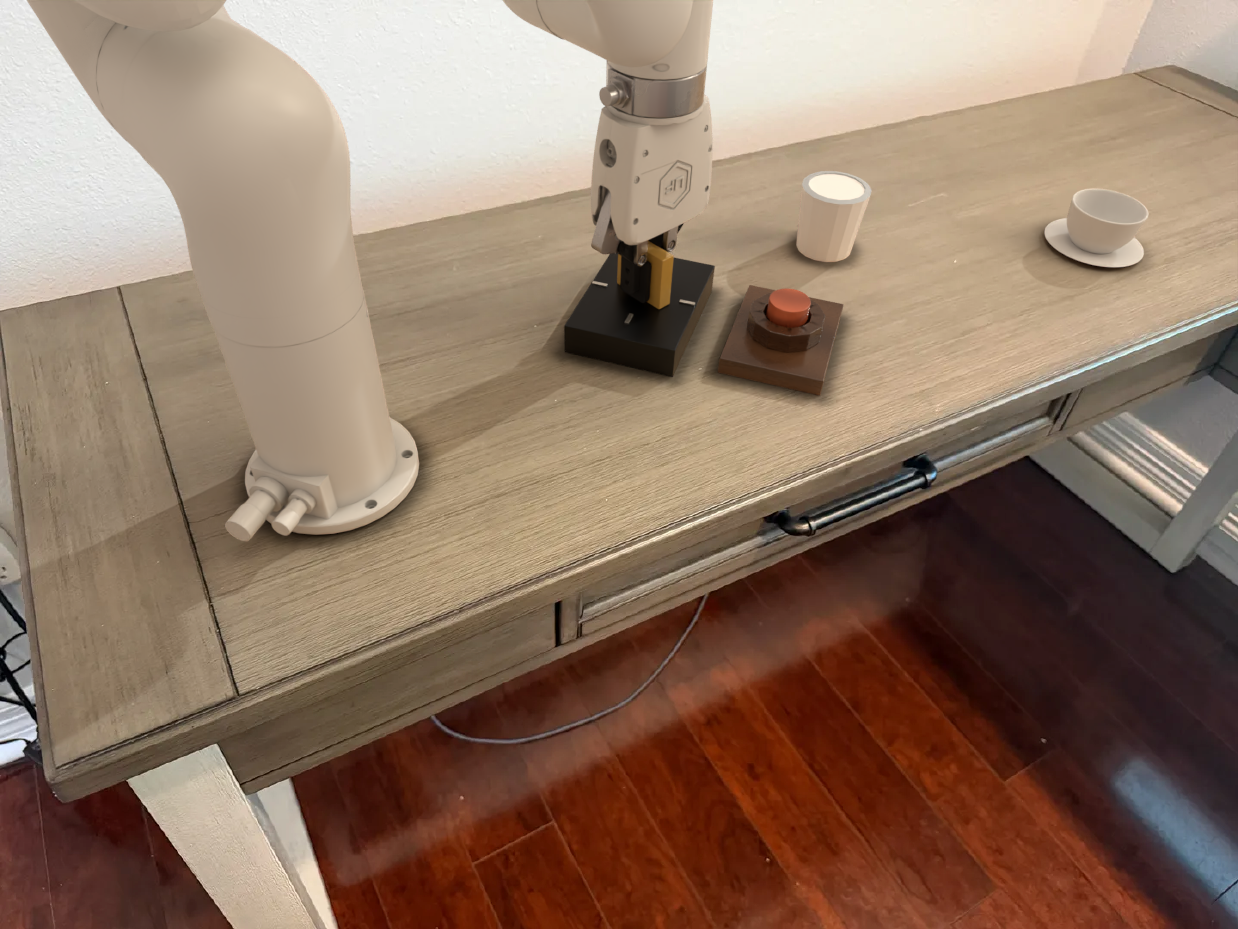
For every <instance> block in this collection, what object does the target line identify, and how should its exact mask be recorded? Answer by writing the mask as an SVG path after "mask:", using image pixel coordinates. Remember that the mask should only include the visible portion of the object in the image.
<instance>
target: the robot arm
mask: <svg viewBox="0 0 1238 929" xmlns="http://www.w3.org/2000/svg"><path fill="white" fill-rule="evenodd" d="M502 1H503V3H504V5H505V6H506V7H507V8H509V10H510V11H511V12H512V13H513V14H514V15H516V16H517V17H518V18H520V19H521V20H523V21H524V22H526V23H528V24H529V25H531V26H533V27H535V28H538V29H539V30H542V31H543V32H546V33H548V34H550V35H552V36H554V37H556V38H558V39H559V40H563V41H566V42H568V43H570V44H573V45H574V46H577V47H578V48H581V49H583V50H585V51H587V52H589V53H591V54H594V55H596V56H597V57H600V58H602V59H604V60H605V61H606V63H605V64H606V67H605V68H606V70H605V86H604V87H603V86H602V87H601V88H600V89H599V91H598V92H599V94H598V97H599V100H600V103H601V104H602V105H603V107H602V108H601V111H600V113H599V114H600V115H599V120H598V124H597V130H596V135H595V141H594V150H593V156H592V158H593V159H592V169H591V181H590V182H591V183H590V212H591V213H590V214H591V220H592V223H593V225H594V226H595V229H594V232H593V236H592V239H591V243H590V246H591V248H592V249H593V250H595V251H597V252H598V253H599V254H601V255H609V254H616V253H617V254H619V255H621V278H620V287H621V289H622V291H624V292H625V293H627V294H629V295H630V296H632V297H633V298H635V299H636V300H638V301H640V302H641V303H645V302H647V301H648V300H649V298H650V283H651V267H652V266H651V263H650V262H648V261H647V247H648V241H649V242H651V243H653V244H655V245H656V246H658V247H660V248H662V249H663V250H665V251H667V252H669V253H671V252H673V251H674V249H675V248H676V246H677V240H678V234H679V232H680V231H681V229H682V228H683V226H684V224H685V223H687V222H689V221H691V220H693V219H694V218H695V219H696V218H697V217H699V216H700V215H701V214H702V213H703V212H704V211H705V210H706V209H708V208H707V207H708V206H709V202H710V194H711V186H712V173H713V172H712V170H713V147H714V146H713V143H714V142H713V141H714V140H713V138H714V137H713V121H712V110H711V103H710V98H709V97H708V96H707V95H706V94H705V91H706V90H705V89H706V80H707V71H708V70H707V69H708V59H709V51H710V50H709V49H710V40H711V28H712V17H713V6H714V0H502ZM26 2H27V3H28V5H29V6H30V8H31V10H32V11H33V12H34V14H35V16H36V17H37V19H38V20H39V22H40V24H41V26H43V28H44V30H45V31H46V33H47V34H48V36H49V37H50V39H51V41H52V42H53V44H54V45H55V46H56V48H57V50H58V52H59V53H60V55H61V56H62V57H63V59H64V61H65V62H66V64H67V65H68V67H69V68H70V70H71V71H72V73H73V74H74V76H75V77H76V79H77V81H78V82H79V83H80V85H81V87H82V88H83V89H84V91H85V92H86V93H87V95H88V97H89V98H90V100H91V102H92V103H93V104H94V106H95V107H96V108H97V110H98V111H99V113H100V114H101V115H102V116H103V118H104V119H105V120H106V121H107V123H108V124H109V125H110V126H111V128H113V129H114V130H115V132H117V133H118V135H119V136H120V137H122V139H123V140H125V141H126V142H127V143H128V144H129V145H130V146H131V147H132V148H133V149H134V150H135V151H136V152H137V153H138V154H139V155H140V157H142V159H143V160H144V161H145V163H146V164H147V165H148V166H149V167H150V168H151V169H153V170H154V172H156V174H158V176H159V177H160V178H161V179H162V180H163V182H164V183H165V186H167V188H168V190H169V191H170V194H171V195H172V197H173V200H174V202H175V204H176V206H177V209H178V212H179V215H180V219H181V221H182V225H183V228H184V233H185V238H186V245H187V252H188V258H189V262H190V266H191V270H192V274H193V278H194V281H195V283H196V287H197V290H198V293H199V296H200V298H201V302H202V304H203V307H204V310H205V313H206V315H207V319H208V321H209V324H210V325H211V327H212V330H213V333H214V335H215V338H216V341H217V344H218V347H219V350H220V352H221V356H222V358H223V360H224V363H225V366H226V370H227V373H228V375H229V377H230V380H231V383H232V386H233V389H234V392H235V394H236V397H237V399H238V402H239V406H240V408H241V411H242V414H243V416H244V420H245V422H246V425H247V428H248V430H249V433H250V435H251V439H252V442H253V444H254V448H255V450H254V451H253V453H252V455H251V456H250V458H249V459H248V463H247V466H246V468H245V471H244V472H245V473H244V485H245V490H246V494H247V496H248V498H247V500H246V501H245V502H244V503H242V504H240V505H239V506H238V508H237V509H236V510H235V511H234V512H233V513H232V515H231V516H230V517H229V518H228V519H227V521H226V522H225V524H224V527H225V530H226V531H227V532H228V533H229V535H231V536H232V537H234V538H235V539H236V540H238V541H241V542H249V541H250V540H251V539H252V538H253V537H254V536H255V534H256V533H257V532H258V531H259V529H261V527H262V526H263V525H264V524H265V522H266V521H267V522H268V523H270V524H271V528H272V529H273V530H274V531H275V532H276V533H277V534H279V535H281V536H285V537H288V536H289V535H291V533H292V532H293V533H296V534H303V535H304V534H305V535H316V536H317V535H330V534H331V535H332V534H337V533H338V534H339V533H343V532H349V531H352V530H355V529H359V528H361V527H364V526H366V525H369V524H371V523H373V522H375V521H377V520H379V519H381V518H382V517H384V516H385V515H387V514H388V513H390V512H391V511H393V510H394V509H395V508H397V506H398V505H399V504H400V503H402V501H404V500H405V498H407V496H408V495H409V493H410V492H411V490H412V489H413V488H414V485H415V483H416V480H417V478H418V476H419V469H420V459H419V451H418V448H417V445H416V441H415V439H414V437H413V436H412V434H411V433H410V431H409V430H408V429H407V428H406V427H405V426H404V425H402V423H400V422H399V421H397V420H396V419H393V418H392V417H391V416H390V413H389V408H388V402H387V398H386V393H385V389H384V383H383V378H382V374H381V368H380V363H379V358H378V354H377V348H376V343H375V340H374V335H373V334H374V333H373V329H372V325H371V320H370V315H369V308H368V304H367V299H366V294H365V290H364V287H363V282H362V278H361V273H360V267H359V262H358V257H357V251H356V246H355V245H356V244H355V239H354V232H353V222H352V208H351V207H352V206H351V157H350V155H351V154H350V148H349V143H348V142H349V141H348V138H347V135H346V131H345V127H344V125H343V122H342V119H341V117H340V114H339V113H338V111H337V109H336V107H335V105H334V103H333V101H332V100H331V98H330V97H329V96H328V94H327V92H326V91H325V90H324V88H323V87H322V86H321V85H320V83H319V82H318V81H317V80H316V79H315V77H314V76H312V74H310V72H308V71H307V69H305V68H304V67H303V66H302V65H301V64H300V63H299V62H297V61H296V60H294V59H293V57H291V56H290V55H288V54H287V53H285V51H282V50H281V49H280V48H278V47H276V46H275V45H273V43H270V42H269V41H268V40H266V39H265V38H263V37H262V36H260V35H258V34H257V33H256V32H254V31H252V30H251V29H249V28H247V27H245V26H243V25H241V24H240V23H238V22H237V21H235V20H234V19H232V17H231V16H230V14H229V13H228V11H227V9H226V7H225V3H226V2H227V0H26Z"/></svg>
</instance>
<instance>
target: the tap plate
mask: <svg viewBox="0 0 1238 929" xmlns="http://www.w3.org/2000/svg"><path fill="white" fill-rule="evenodd" d="M715 268H716V265H713V264H708V263H704V262H698V261H693V260H689V259H684V258H679V257H675V256H674V258H673V270H672V282H671V293H670V304H668V305H666V306H665V307H663V308H661V309H657V308H656V307H654V306H653V305H651V304H649V303H648V302H645V303H641V302H640V301H638V300H636V299H635V298H633V297H632V296H630V295H629V294H627V293H625V292H624V291H622V289H621V287H620V285H619V284H618V283H617V271H618V254H617V253H616V254H608V255H607V257H606V258H605V261H604V262H603V264H602V265H601V267H600V269H599V270H598V272H597V273H596V275H595V276H594V278H593V280H592V281H591V283H590V284H589V286H588V288H587V289H586V291H585V292H584V293H583V295H582V297H581V298H580V300H579V301H578V303H577V305H576V306H575V308H574V310H573V311H572V312H571V314H570V316H569V317H568V318H567V320H566V322H565V324H564V325H563V328H564V329H563V332H564V333H563V334H564V335H563V337H564V338H563V339H564V340H563V341H564V343H563V344H564V346H563V347H564V353H566V354H571V355H574V356H579V357H583V358H587V359H592V360H596V361H600V362H604V363H609V364H614V365H618V366H623V367H626V368H630V369H635V370H639V371H643V372H648V373H653V374H657V375H661V376H665V377H669V378H670V377H671V378H673V377H674V375H675V373H676V371H677V369H678V367H679V364H680V362H681V360H682V358H683V356H684V354H685V351H686V349H687V347H688V345H689V342H690V340H691V338H692V336H693V334H694V331H695V329H696V327H697V325H698V323H699V320H700V318H701V317H702V314H703V311H704V310H705V307H706V305H707V303H708V300H709V299H710V297H711V294H712V292H713V284H714V276H715Z"/></svg>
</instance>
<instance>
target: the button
mask: <svg viewBox="0 0 1238 929" xmlns="http://www.w3.org/2000/svg"><path fill="white" fill-rule="evenodd" d="M775 290H776V291H774V292H773V293H772V294H771V295H770V297H769V302H768V308H767V317H768V319H769V320H770V321H771V322H772V323H774V324H776V325H778V326H783V327H787V328H793V327H800V326H802V325H804V324H805V323H806V321H807V319H808V314H809V310H810V305H811V301H810V298H809V297H810V296H809V295H807V294H806V293H804V292H803V291H801V290H798V289H795V288H794V289H793V288H788V287H787V288H779V289H775Z"/></svg>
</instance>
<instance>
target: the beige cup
mask: <svg viewBox="0 0 1238 929" xmlns="http://www.w3.org/2000/svg"><path fill="white" fill-rule="evenodd" d="M871 194H872V188H871V186H870V185H869V183H868V182H867V181H865V180H864V179H862V178H861V177H859V176H856V175H854V174H851V173H848V172H842V171H836V170H820V171H816V172H813V173H810V174H808V175H807V176H805V177H804V178H803V179H802V183H801V188H800V202H799V211H798V212H799V213H798V221H797V222H798V223H797V234H796V243H795V244H796V245H795V246H796V248H797V250H798V252H799V253H801V254H802V255H803V256H804V257H806V258H808V259H811V260H813V261H817V262H822V263H836V262H839V261H843V260H845V259H847V258H848V257H849V256H851V252H852V249H853V247H854V244H855V241H856V238H857V236H858V233H859V230H860V227H861V224H862V222H863V218H864V216H865V212H866V211H867V210H866V209H867V207H868V204H869V201H870V198H871Z"/></svg>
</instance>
